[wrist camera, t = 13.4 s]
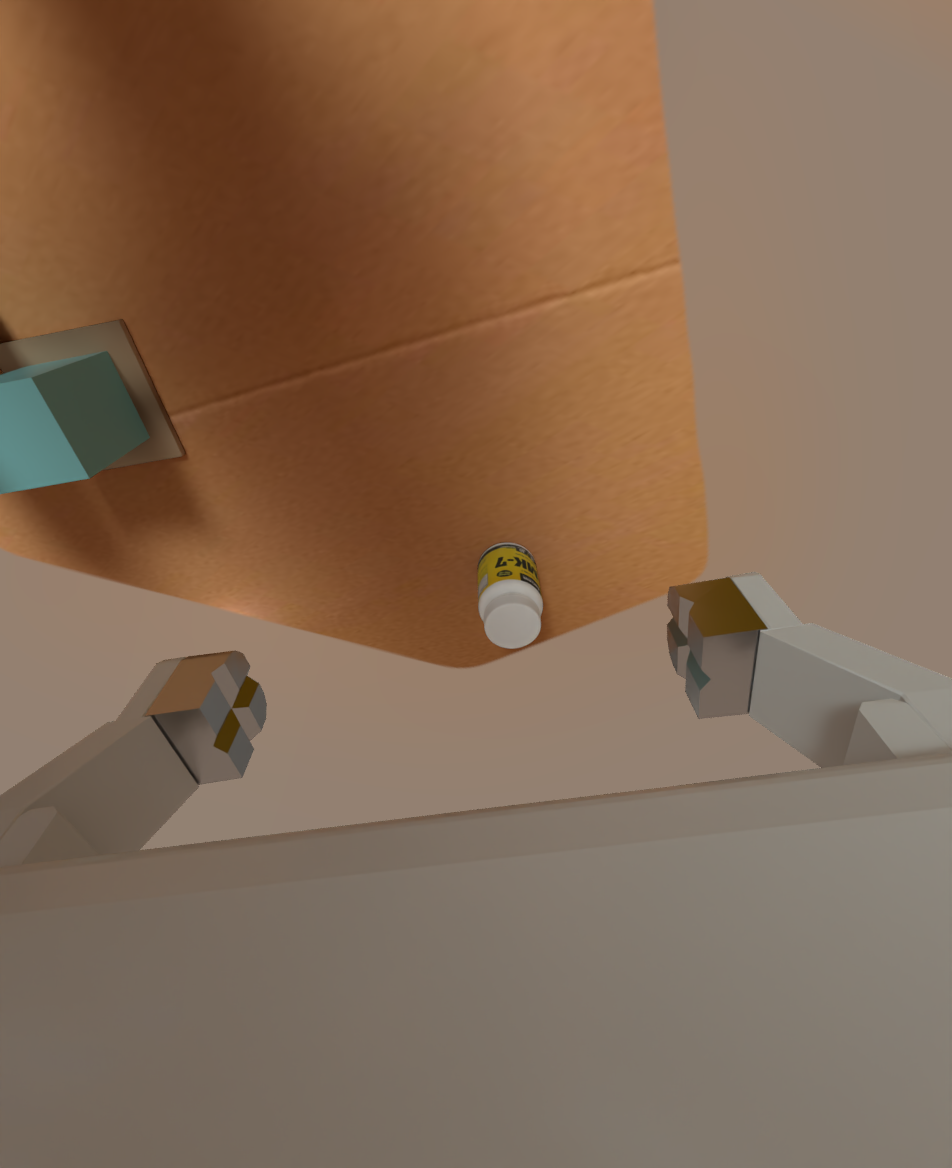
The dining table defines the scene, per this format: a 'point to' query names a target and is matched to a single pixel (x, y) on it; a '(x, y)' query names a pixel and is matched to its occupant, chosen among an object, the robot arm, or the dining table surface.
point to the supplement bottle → (509, 595)
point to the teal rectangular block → (64, 422)
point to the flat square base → (128, 367)
